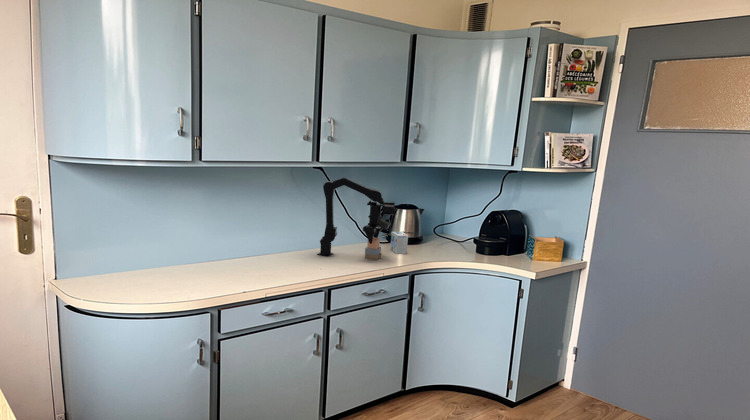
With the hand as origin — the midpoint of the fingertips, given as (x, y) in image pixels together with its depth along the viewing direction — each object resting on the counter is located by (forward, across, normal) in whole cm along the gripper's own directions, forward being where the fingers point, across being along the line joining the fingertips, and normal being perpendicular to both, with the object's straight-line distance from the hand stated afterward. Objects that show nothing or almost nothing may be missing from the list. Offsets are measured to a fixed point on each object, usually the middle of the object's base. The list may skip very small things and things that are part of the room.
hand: (373, 242), depth 267 cm
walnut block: (+9, 0, 0) cm, 9 cm away
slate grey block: (+6, 0, 0) cm, 6 cm away
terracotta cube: (+3, 0, 0) cm, 3 cm away
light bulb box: (+9, +22, -8) cm, 25 cm away
